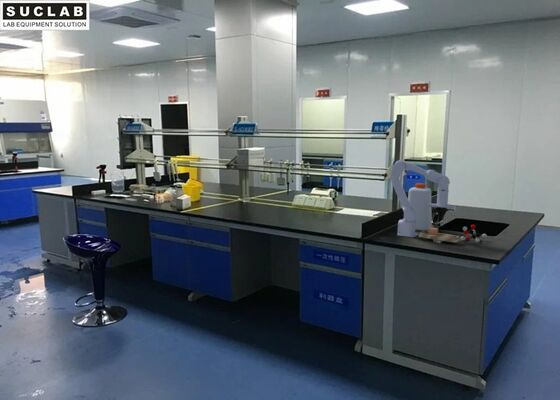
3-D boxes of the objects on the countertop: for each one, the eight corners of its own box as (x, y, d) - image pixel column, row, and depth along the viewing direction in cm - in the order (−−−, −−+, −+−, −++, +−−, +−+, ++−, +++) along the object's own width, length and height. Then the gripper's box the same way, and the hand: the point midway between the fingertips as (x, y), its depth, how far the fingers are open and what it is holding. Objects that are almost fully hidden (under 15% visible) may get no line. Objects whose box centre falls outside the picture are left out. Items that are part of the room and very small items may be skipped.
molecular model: (471, 245, 243) (477, 228, 244) (483, 248, 236) (489, 231, 236) (454, 236, 236) (460, 219, 237) (466, 239, 228) (472, 221, 229)
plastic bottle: (403, 229, 264) (405, 184, 259) (408, 224, 277) (410, 181, 273) (428, 232, 257) (431, 185, 252) (432, 227, 270) (435, 183, 266)
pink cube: (428, 235, 237) (428, 228, 236) (430, 233, 239) (430, 227, 239) (435, 236, 234) (436, 229, 234) (437, 234, 237) (438, 228, 237)
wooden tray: (418, 239, 239) (418, 230, 238) (422, 237, 244) (423, 228, 243) (455, 245, 227) (456, 236, 226) (459, 242, 232) (459, 233, 232)
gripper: (427, 196, 241) (425, 220, 243) (454, 199, 232) (452, 223, 234) (431, 195, 246) (429, 218, 249) (457, 197, 238) (455, 221, 240)
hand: (440, 220), depth 242 cm, fingers closed
